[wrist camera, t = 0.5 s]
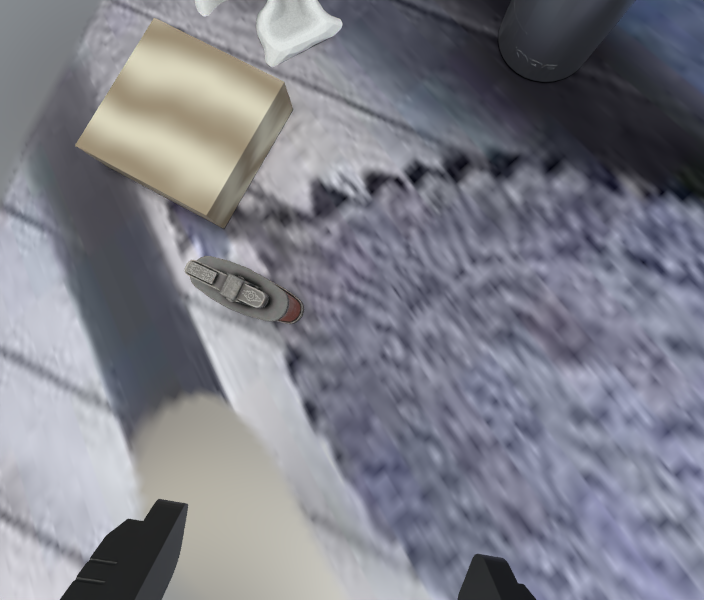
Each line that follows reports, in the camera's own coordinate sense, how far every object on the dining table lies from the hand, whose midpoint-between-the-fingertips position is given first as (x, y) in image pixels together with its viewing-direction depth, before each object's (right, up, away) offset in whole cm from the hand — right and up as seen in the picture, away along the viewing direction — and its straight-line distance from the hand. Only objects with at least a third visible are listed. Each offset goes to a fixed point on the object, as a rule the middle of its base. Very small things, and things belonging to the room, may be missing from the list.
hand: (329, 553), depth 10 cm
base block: (-15, +23, +27) cm, 38 cm away
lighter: (-8, +7, +25) cm, 27 cm away
